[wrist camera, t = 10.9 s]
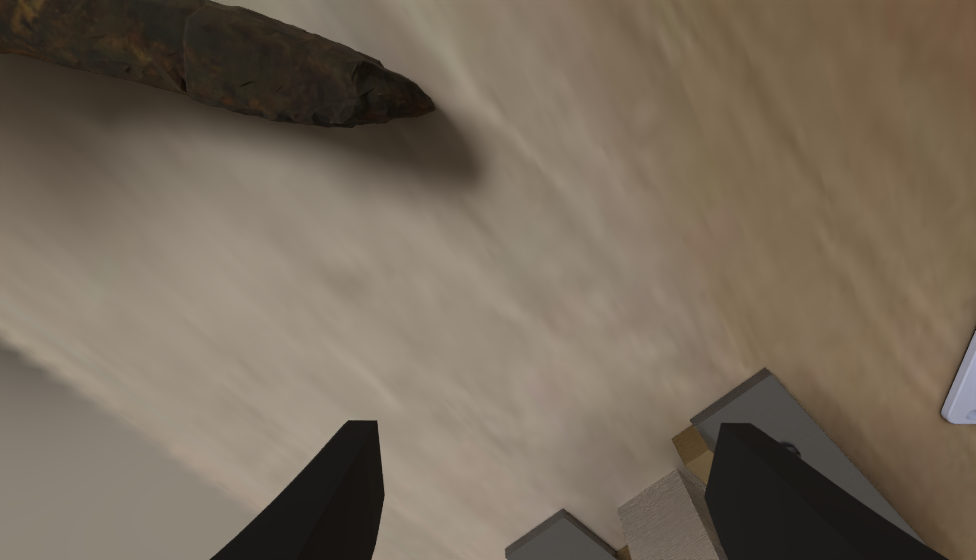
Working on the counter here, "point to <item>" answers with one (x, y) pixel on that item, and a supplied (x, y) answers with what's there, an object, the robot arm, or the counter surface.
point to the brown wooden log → (214, 58)
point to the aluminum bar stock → (670, 522)
